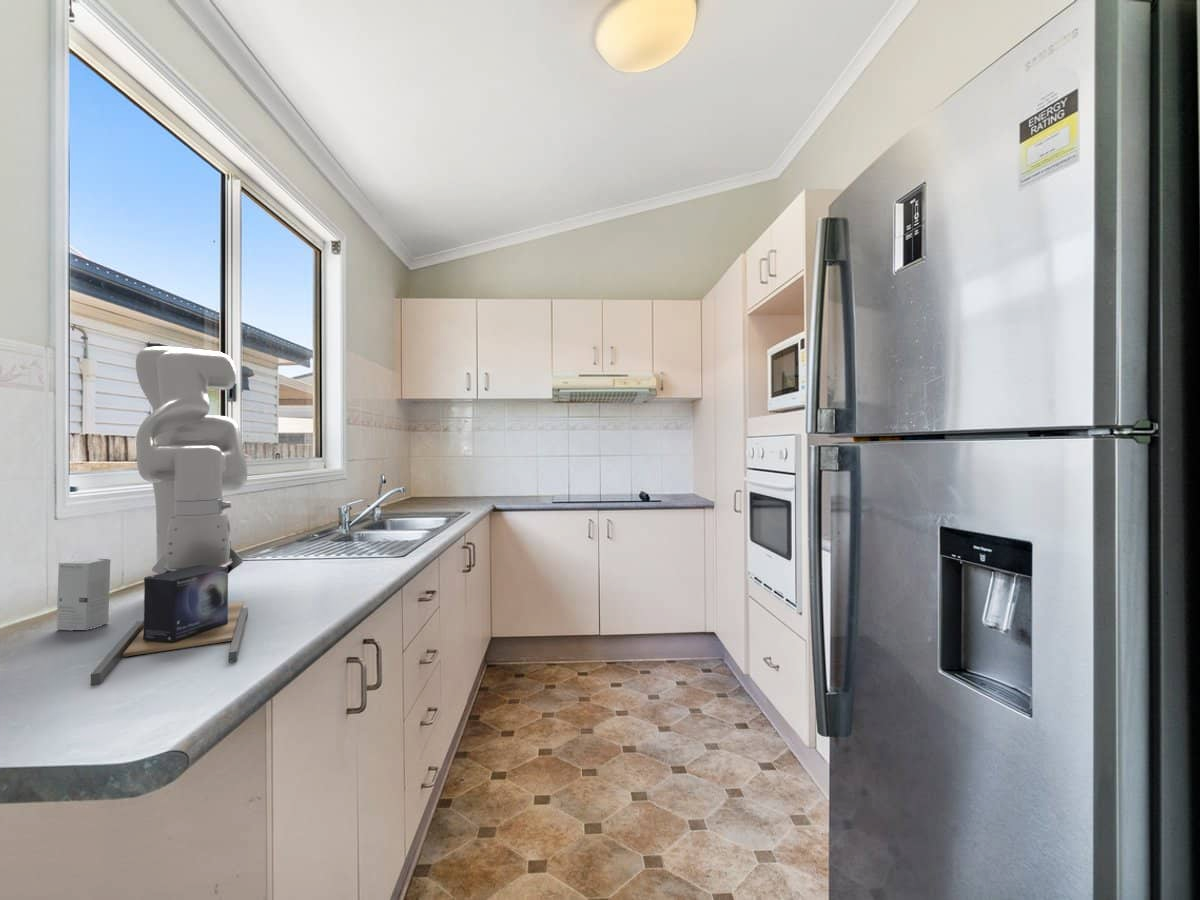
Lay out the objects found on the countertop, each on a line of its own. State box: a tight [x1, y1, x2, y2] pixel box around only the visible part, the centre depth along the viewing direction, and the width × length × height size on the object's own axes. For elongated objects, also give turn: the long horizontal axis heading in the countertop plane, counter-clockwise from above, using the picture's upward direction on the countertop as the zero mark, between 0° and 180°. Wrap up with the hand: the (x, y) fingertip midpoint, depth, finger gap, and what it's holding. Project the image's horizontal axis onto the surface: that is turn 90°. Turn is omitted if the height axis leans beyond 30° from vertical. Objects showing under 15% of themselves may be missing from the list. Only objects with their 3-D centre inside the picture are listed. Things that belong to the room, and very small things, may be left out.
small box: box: [143, 565, 229, 643], centre depth 93 cm, size 11×6×10 cm, turn 169°
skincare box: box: [56, 557, 111, 631], centre depth 98 cm, size 6×4×12 cm
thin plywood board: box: [122, 601, 244, 658], centre depth 98 cm, size 24×14×6 cm, turn 30°
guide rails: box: [90, 607, 249, 686], centre depth 90 cm, size 26×17×2 cm, turn 30°
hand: (199, 601), depth 106 cm, fingers open, 4 cm apart
